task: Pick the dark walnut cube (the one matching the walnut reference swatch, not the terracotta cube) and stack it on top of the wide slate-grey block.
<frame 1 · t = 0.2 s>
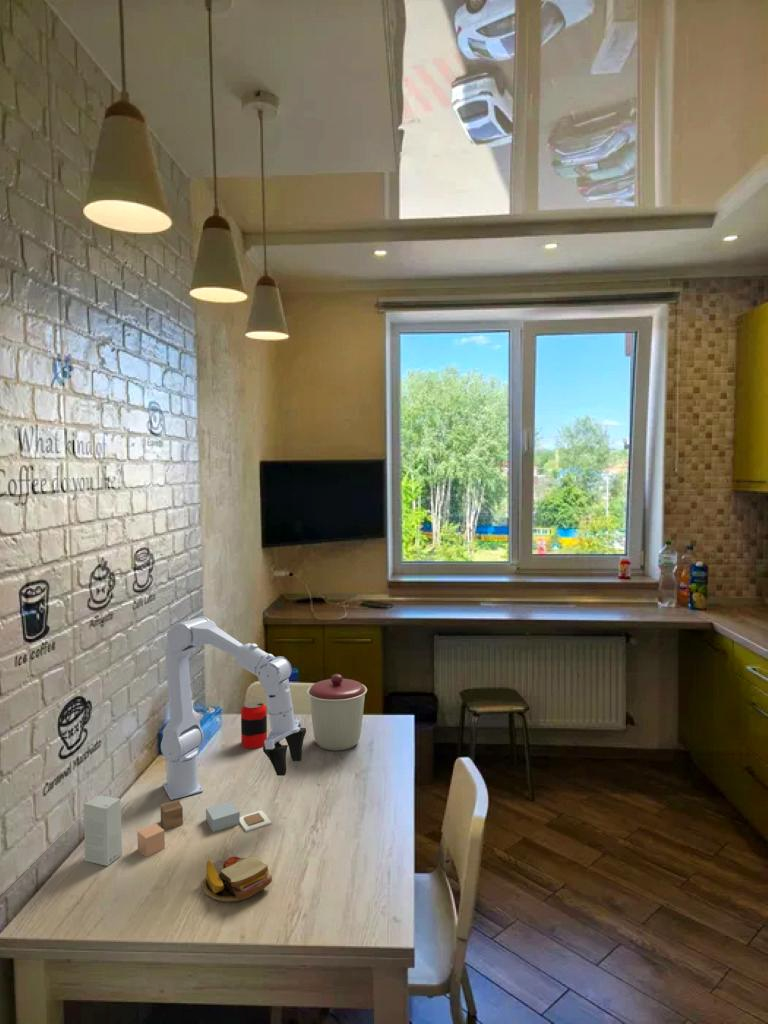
hand: (289, 767, 139), 11 cm above the table, tool pointing down, fingers open, 7 cm apart
toy sandwich meal: (239, 885, 114), on the table
terracotta cube: (151, 849, 125), on the table
canister: (337, 744, 177), on the table
soda can: (254, 744, 178), on the table
skincare box: (103, 859, 122), on the table
walnut cube: (171, 823, 135), on the table
reference swatch: (254, 821, 135), on the table
slate block: (222, 822, 135), on the table
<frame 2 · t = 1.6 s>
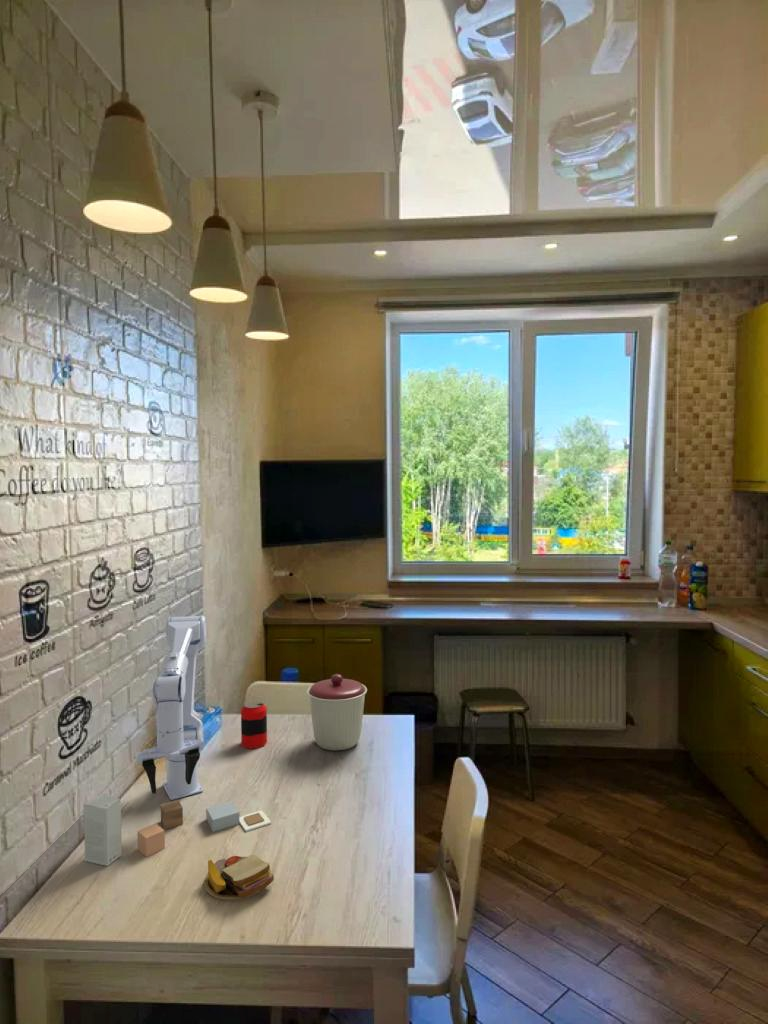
hand: (171, 787, 135), 8 cm above the table, tool pointing down, fingers open, 7 cm apart
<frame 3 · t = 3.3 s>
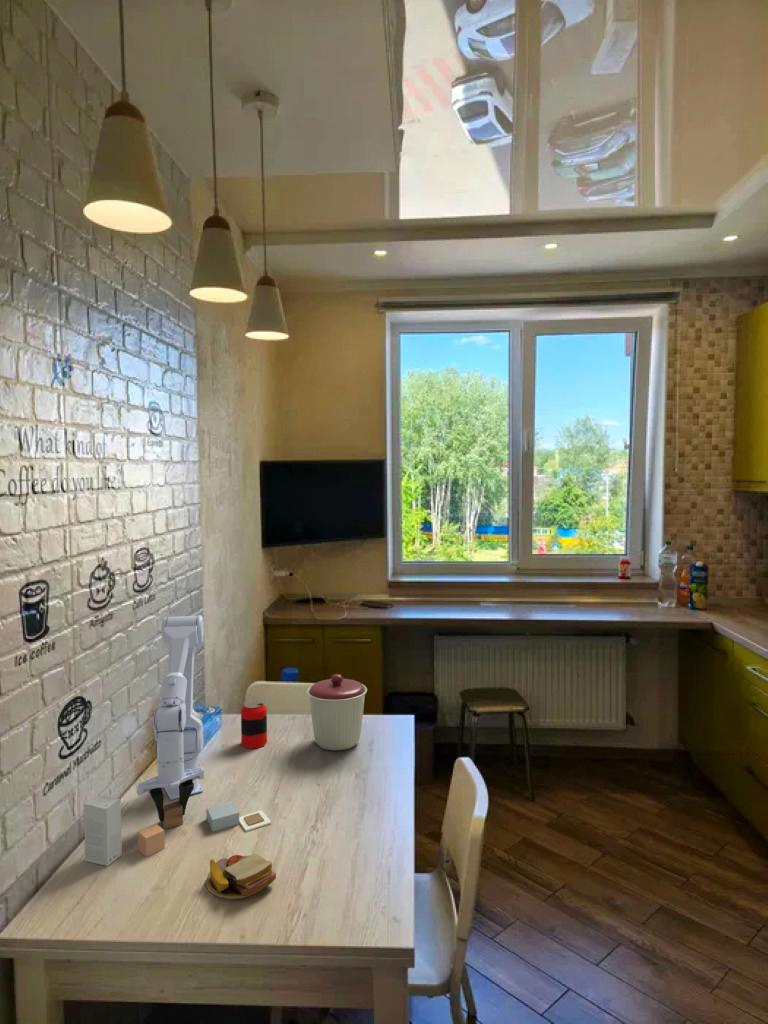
hand: (171, 816, 135), 1 cm above the table, tool pointing down, fingers closed on walnut cube, 4 cm apart
walnut cube: (171, 822, 135), on the table, touching gripper
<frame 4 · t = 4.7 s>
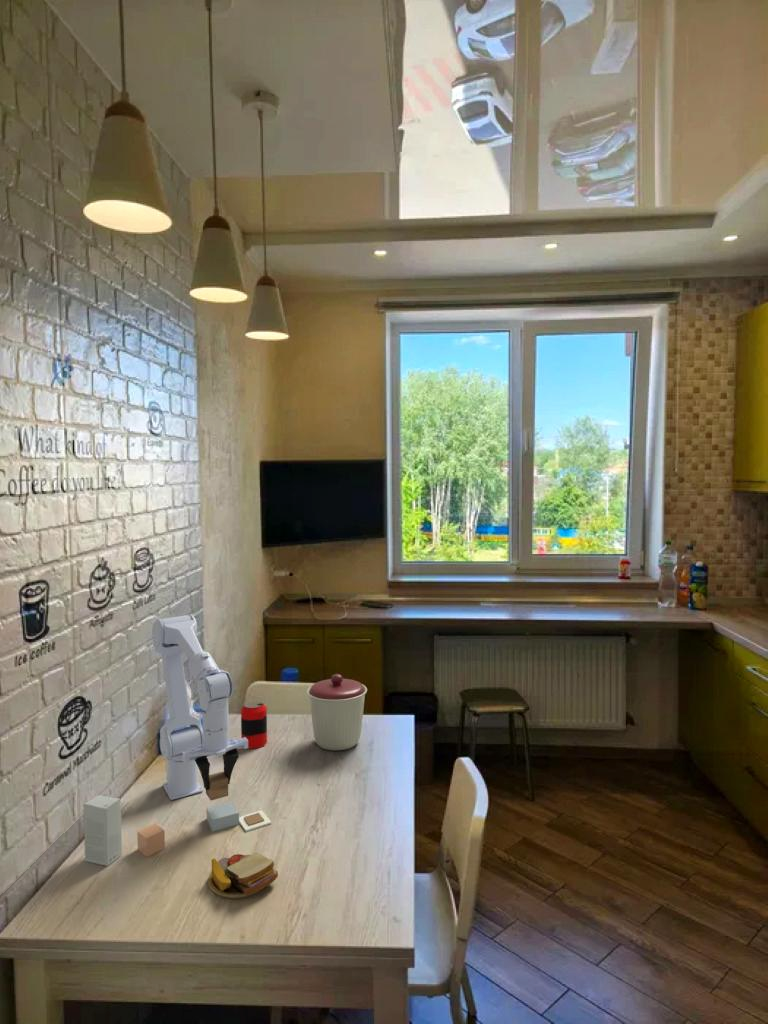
hand: (216, 785, 135), 8 cm above the table, tool pointing down, fingers closed on walnut cube, 4 cm apart
walnut cube: (217, 794, 135), point 6 cm above the table, touching gripper
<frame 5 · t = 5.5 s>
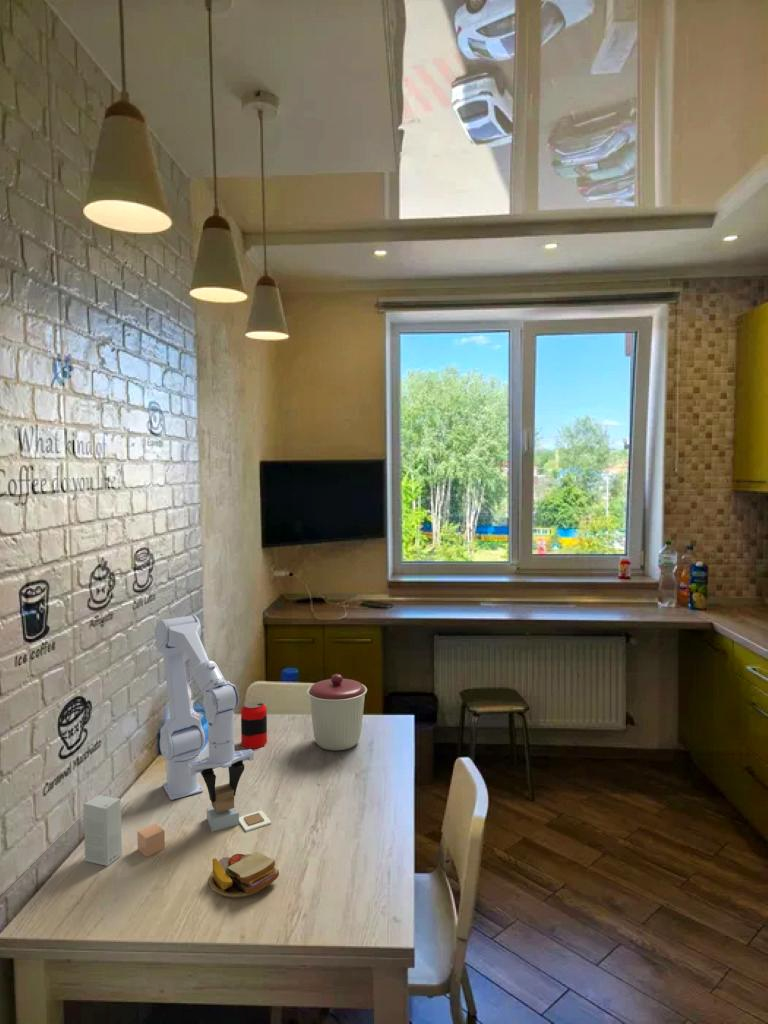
hand: (222, 797, 135), 6 cm above the table, tool pointing down, fingers closed on walnut cube, 4 cm apart
walnut cube: (222, 806, 135), point 4 cm above the table, touching gripper
when the fingers open (6 cm above the table, at t = 6.2 s): walnut cube stays where it is, resting on slate block.
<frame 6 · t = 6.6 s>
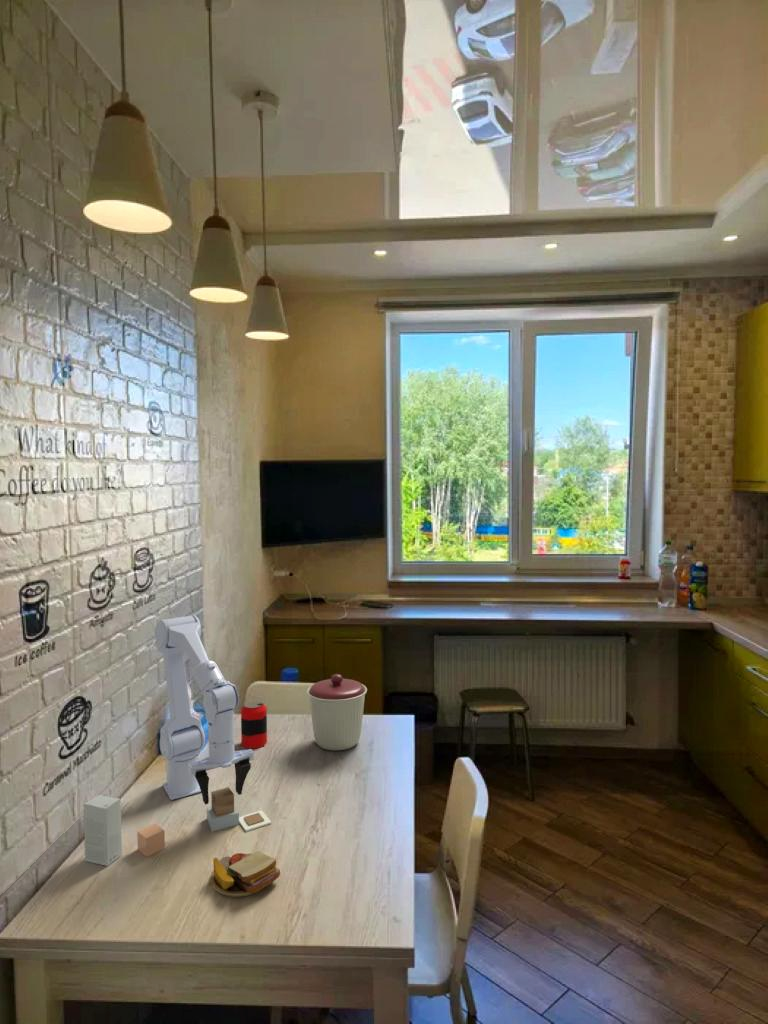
hand: (222, 797, 135), 6 cm above the table, tool pointing down, fingers open, 7 cm apart
walnut cube: (222, 810, 135), point 3 cm above the table, touching slate block
slate block: (222, 823, 135), on the table, touching walnut cube
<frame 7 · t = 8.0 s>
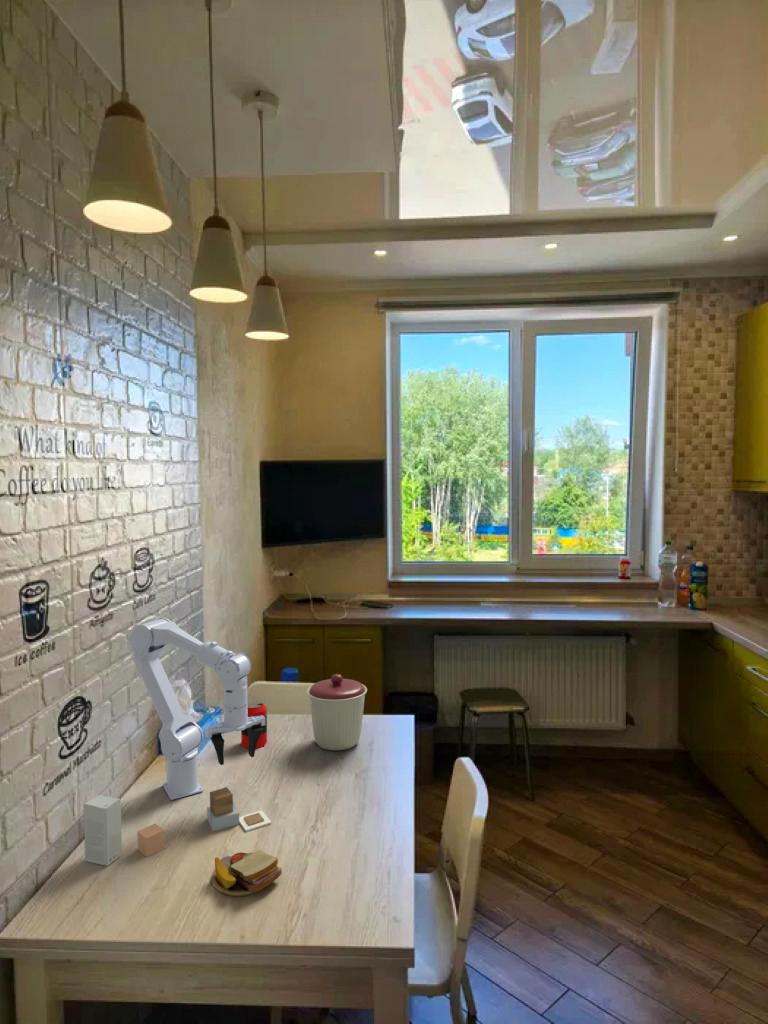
hand: (236, 759, 145), 10 cm above the table, tool pointing down, fingers open, 7 cm apart
walnut cube: (221, 810, 135), point 3 cm above the table
slate block: (223, 822, 135), on the table
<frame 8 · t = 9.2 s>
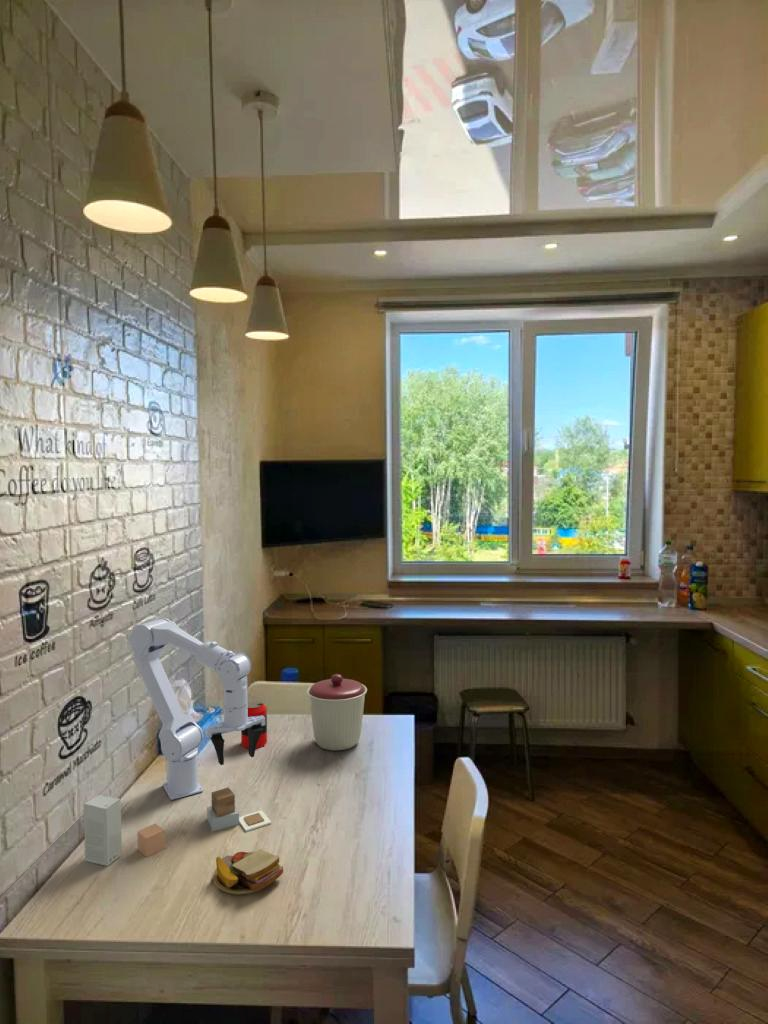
hand: (236, 759, 145), 10 cm above the table, tool pointing down, fingers open, 7 cm apart
walnut cube: (223, 810, 135), point 3 cm above the table, touching slate block
slate block: (223, 823, 135), on the table, touching walnut cube
at the end: walnut cube 0.3 cm off-centre on the slate block, point 3.0 cm above the slate block's base; walnut cube tilted 0°; the gripper is holding nothing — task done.
